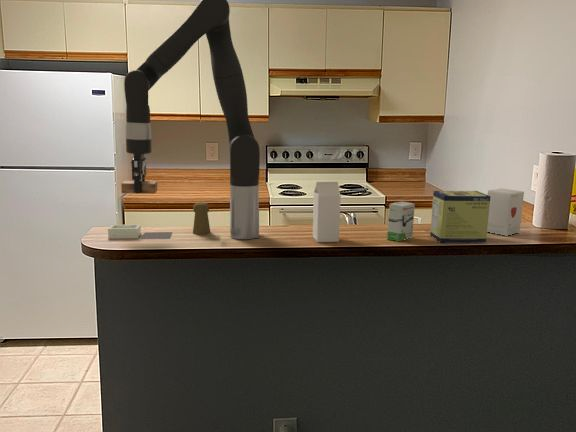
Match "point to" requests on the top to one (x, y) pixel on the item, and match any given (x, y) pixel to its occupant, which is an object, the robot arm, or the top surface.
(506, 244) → the top surface
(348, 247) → the top surface
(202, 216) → the cork
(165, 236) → the mat
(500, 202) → the supplement box
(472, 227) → the protein box
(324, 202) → the milk carton
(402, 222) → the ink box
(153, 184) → the lid
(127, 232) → the dish
